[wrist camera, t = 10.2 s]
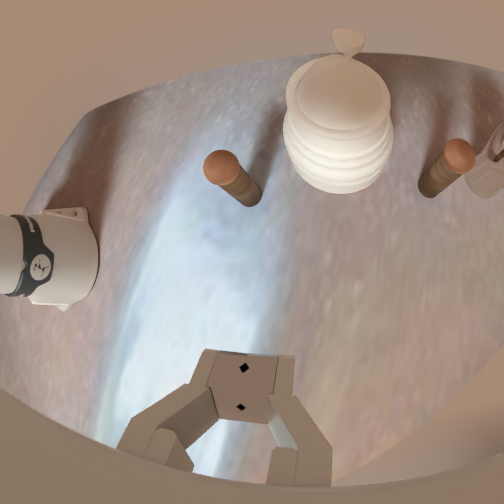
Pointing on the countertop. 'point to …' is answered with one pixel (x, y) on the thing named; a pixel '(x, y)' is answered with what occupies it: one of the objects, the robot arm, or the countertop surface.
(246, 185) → the post
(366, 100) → the honey pot
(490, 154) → the beer glass
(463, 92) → the countertop surface
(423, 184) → the post
